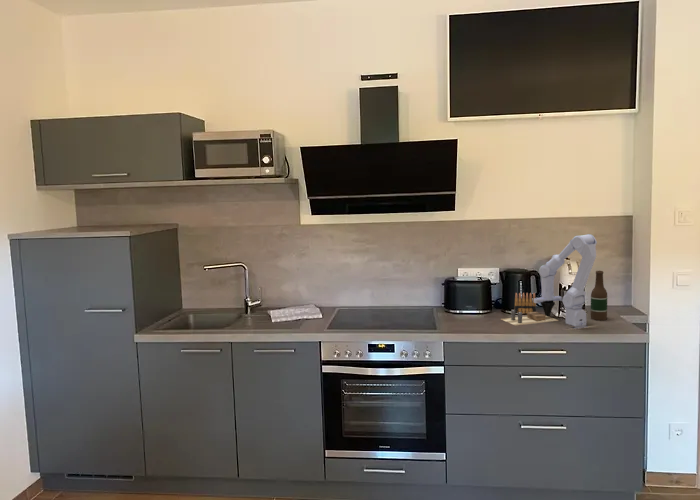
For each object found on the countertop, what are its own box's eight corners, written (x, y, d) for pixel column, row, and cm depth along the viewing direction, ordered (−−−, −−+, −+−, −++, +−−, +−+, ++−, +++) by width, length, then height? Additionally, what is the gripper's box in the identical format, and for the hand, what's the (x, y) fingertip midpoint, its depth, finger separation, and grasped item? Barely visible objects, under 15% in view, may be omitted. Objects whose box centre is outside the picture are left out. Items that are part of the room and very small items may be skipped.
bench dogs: (522, 325, 284) (522, 312, 283) (519, 325, 283) (519, 313, 283) (513, 321, 291) (513, 309, 291) (510, 321, 291) (510, 309, 290)
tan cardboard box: (545, 320, 287) (545, 315, 287) (536, 321, 286) (536, 316, 285) (536, 316, 295) (536, 311, 294) (527, 317, 293) (527, 312, 293)
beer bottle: (601, 321, 285) (602, 272, 282) (587, 318, 292) (587, 271, 289) (610, 318, 290) (611, 270, 287) (595, 316, 296) (596, 269, 293)
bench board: (559, 322, 286) (559, 320, 286) (515, 327, 279) (515, 325, 279) (542, 316, 299) (542, 314, 299) (500, 321, 293) (500, 319, 293)
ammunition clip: (535, 315, 303) (535, 292, 302) (536, 315, 301) (536, 292, 300) (514, 314, 305) (514, 292, 304) (514, 315, 303) (514, 292, 302)
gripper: (555, 286, 296) (555, 312, 298) (530, 288, 292) (530, 315, 294) (564, 288, 289) (563, 315, 291) (538, 291, 285) (538, 318, 287)
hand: (547, 315), depth 292 cm, fingers closed
